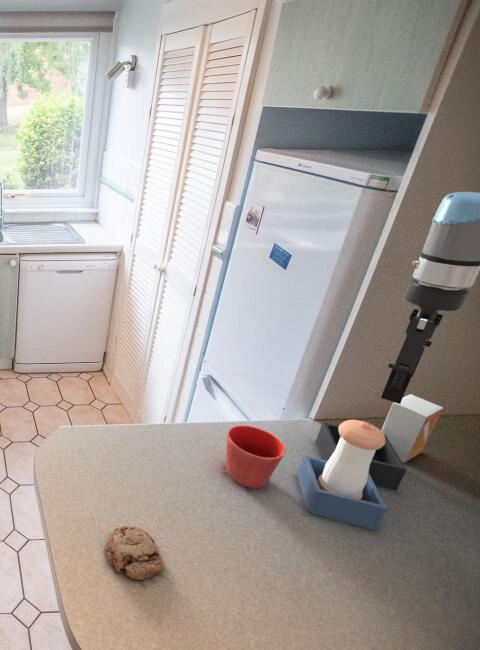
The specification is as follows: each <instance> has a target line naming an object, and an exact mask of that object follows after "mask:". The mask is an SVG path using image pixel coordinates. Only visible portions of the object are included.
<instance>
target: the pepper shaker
mask: <svg viewBox="0 0 480 650" xmlns="http://www.w3.org/2000/svg"><path fill="white" fill-rule="evenodd" d="M338 430H339V434H340V436H341V437H340V440H339V442H338V445H337V447H336V449H335V451H334V453H333V454H332V456H331V457H330V459H329V460H328V461H327V463H326V465H325V468H324V471H323V474H322V475H320V476H319V477H318V480H317V483H318V485H319V488H320V489H321V490H325V491H329V492H333V493H337V494H340V495H344V496H348V497H352V498H356V499H360V500H361V499H362V496H363V493H362V490H363V488H364V486H365V484H366V482H367V477H368V471H369V466H370V463H371V461H372V458H373V456H374V454H375V451H376V450H377V449H380V448H381V447H382V446H384V445H385V436H384V434H383V433H382V431H381V429H380V428H378V427H376V426H375V425H373V424H371V423H369V422H367V421H362V420H359V419H348V420H345V421H343V422H341V423H340V424H339V429H338Z"/></svg>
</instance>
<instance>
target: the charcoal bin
mask: <svg viewBox="0 0 480 650" xmlns="http://www.w3.org/2000/svg"><path fill="white" fill-rule="evenodd" d="M339 426H340V424H339V425H338V424H333V423H330V422H329V423H328V422H324V421H322V423H321V426H320V428H319V431H318V433H317V436H316V439H315V443H316V446H317V449H318V451H319V454H320V456H321V459H322V460H326V461H328V460H329V459H330V457H331V456H332V454H333V453H334V451H335V449H336V447H337V445H338V442H339V440H340V437H341V436H340V434H339V430H338V429H339ZM384 436H385V445H384V446H382V447H381V448H380V449H377V450H376V451H375V454H374V456H373V458H372V461H371V463H370V466H369V471H368V472H369V474H370V476H371V478H372V480H373V482H374V484H375V486H376V487H381V488H383V489H384V488H385V489H389V490H392V491H398V489H399V486H400V485H401V482H402V481H403V478H404V476H405V475H406V472H407V467H406V466H405V464H404V462H402V461H401V459H400V458H399V456H398V454H397V453H396V451H395V449H394V448H393V446H392V445H391V443H390V441H389V440H388V438H387V436H386V435H384Z"/></svg>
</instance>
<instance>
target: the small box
mask: <svg viewBox="0 0 480 650" xmlns="http://www.w3.org/2000/svg"><path fill="white" fill-rule="evenodd" d="M443 410H444V406H440V405H438V404H436V403H433V402H431V401H429V400H426V399H424V398H422V397H419V396H417V395H414V394H411V393H409V394H408V395H404V396H403V398H402V401H401V403H400V404H398V403H395V402H392V405H391V406H390V409H389V411H388V413H387V416H386V417H385V420H384V423H383V424H382V427H381V429H380V430H381V431H382V433H383V434H384V435H386V436H387V438H388V440H389V441H390V443H391V445H392V446H393V448H394V449H395V451H396V453H397V454H398V456H399V458H400V459H401V461H402V463H403V464H404V463H407V462H408V461H409V460H411V459H413V458H414V457H416V456H418V455H419V454H421V453H422V452H423V451H424V448H425V446H426V444H427V442H428V440H429V438H430V436H431V434H432V432H433V430H434V428H435V426H436V424H437V422H438V420H439V419H440V417H441V414H442V412H443Z"/></svg>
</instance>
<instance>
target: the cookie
mask: <svg viewBox="0 0 480 650" xmlns="http://www.w3.org/2000/svg"><path fill="white" fill-rule="evenodd" d="M108 540H109V541H108V542H106V543H105V545H104V551H105V555H106V557H107V560H108V562H109V563H110V565H111V566H112V567H113V568H114V569H115V571H116V572H117V573H118V574H123V575H126V576H127V578H130V579H132V580H136V581H143V580H146V579H150V578H152V577H153V576H157V575H158V574H159V573H160V572H161V571H163V570H162V569H163V566H164V561H163V560H162V557H161V555H160V553H159V548H158V546H157V544H156V542H155V540H154V538H153V537H152V535H151V534H150V533H149V532H147V531H146V530H144V529H142V528H140V527H137V526H134V525H122V526H121V527H120V528H118V527H116V528H115V529H114V530H113V536H111V537H110V538H109V539H108Z"/></svg>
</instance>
